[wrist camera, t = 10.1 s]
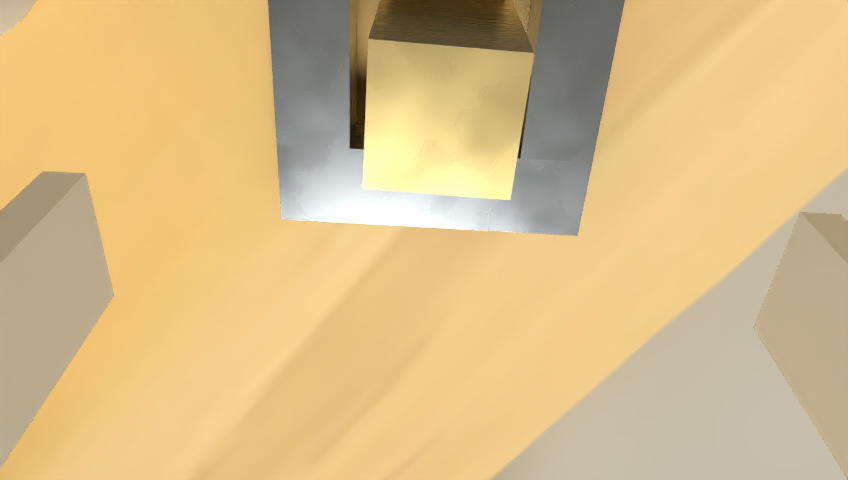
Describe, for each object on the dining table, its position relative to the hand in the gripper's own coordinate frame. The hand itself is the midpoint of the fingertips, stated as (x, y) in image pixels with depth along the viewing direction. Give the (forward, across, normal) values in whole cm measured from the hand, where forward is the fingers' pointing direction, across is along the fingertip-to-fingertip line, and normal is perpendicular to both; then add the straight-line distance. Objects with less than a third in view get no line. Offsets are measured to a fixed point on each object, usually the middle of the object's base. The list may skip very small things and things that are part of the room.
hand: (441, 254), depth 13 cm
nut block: (+15, 0, -1) cm, 15 cm away
